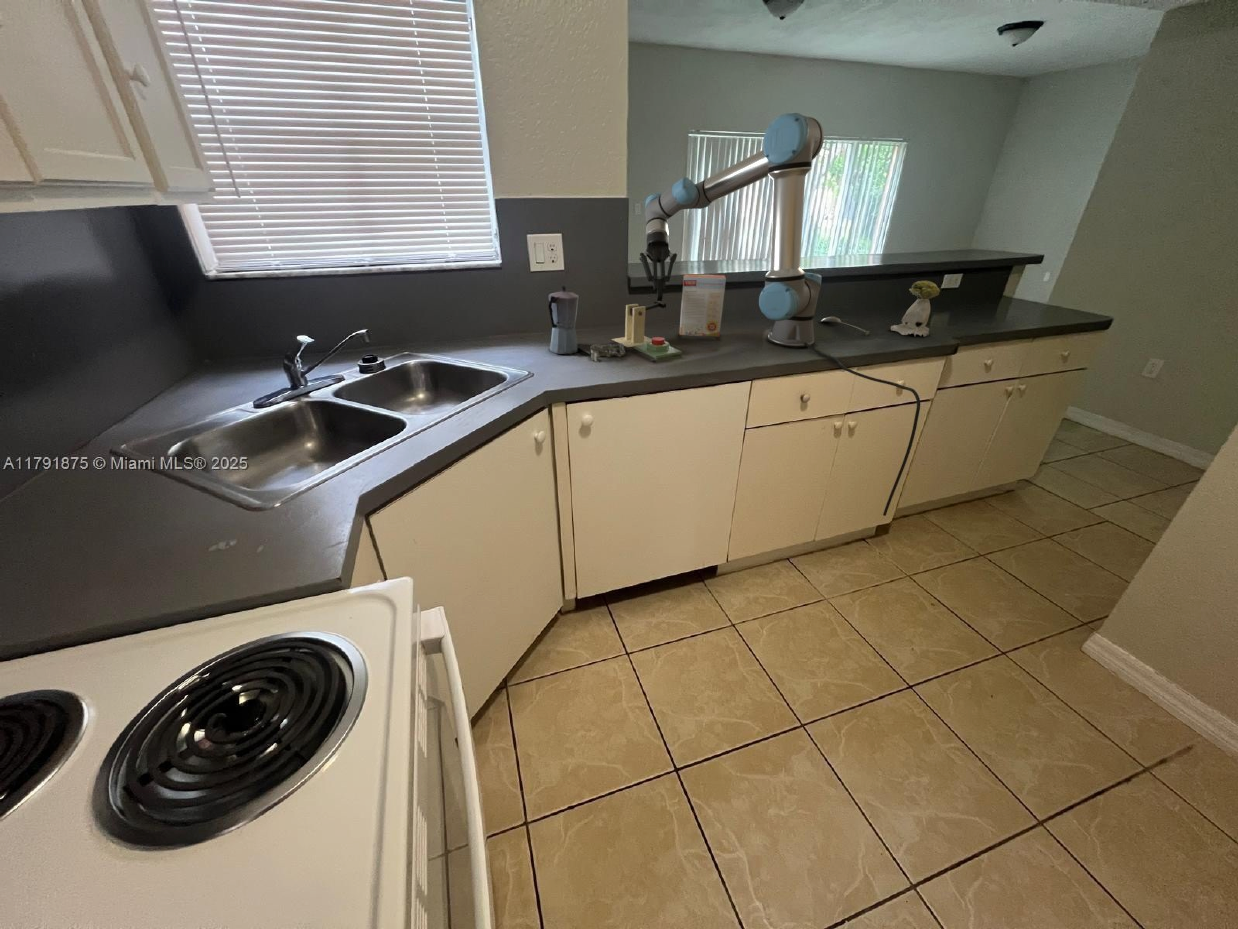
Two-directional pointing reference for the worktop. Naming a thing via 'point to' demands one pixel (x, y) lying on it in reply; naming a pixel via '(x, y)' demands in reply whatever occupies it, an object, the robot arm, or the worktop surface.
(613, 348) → the mottled toad figurine
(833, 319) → the soupspoon
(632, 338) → the bracket
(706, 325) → the cracker box
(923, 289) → the grey and green figure
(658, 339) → the button
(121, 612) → the worktop surface
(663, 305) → the toaster lever
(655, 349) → the button box
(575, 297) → the moka pot
